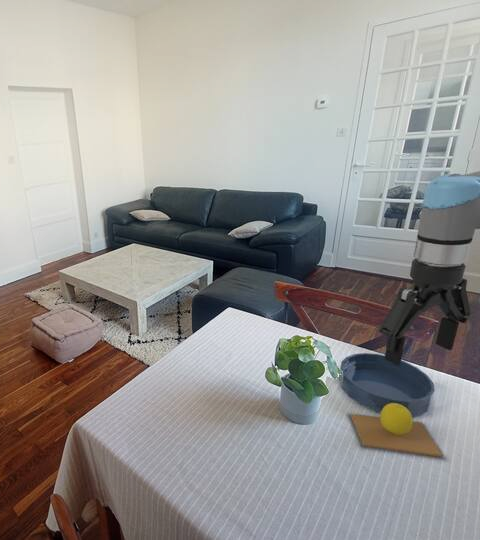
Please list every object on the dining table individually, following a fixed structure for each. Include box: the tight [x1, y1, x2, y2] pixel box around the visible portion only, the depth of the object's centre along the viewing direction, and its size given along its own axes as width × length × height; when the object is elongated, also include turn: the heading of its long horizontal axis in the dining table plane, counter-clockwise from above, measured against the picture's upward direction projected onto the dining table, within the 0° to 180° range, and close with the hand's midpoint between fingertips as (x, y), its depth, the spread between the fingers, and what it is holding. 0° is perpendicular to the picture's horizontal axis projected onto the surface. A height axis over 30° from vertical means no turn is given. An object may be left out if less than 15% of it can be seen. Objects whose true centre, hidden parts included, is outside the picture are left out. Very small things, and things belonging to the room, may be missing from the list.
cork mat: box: [350, 413, 443, 458], centre depth 76 cm, size 14×9×1 cm, turn 73°
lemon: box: [379, 403, 414, 435], centre depth 75 cm, size 6×6×8 cm
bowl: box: [338, 352, 436, 417], centre depth 88 cm, size 19×19×5 cm
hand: (418, 354), depth 72 cm, fingers open, 13 cm apart
